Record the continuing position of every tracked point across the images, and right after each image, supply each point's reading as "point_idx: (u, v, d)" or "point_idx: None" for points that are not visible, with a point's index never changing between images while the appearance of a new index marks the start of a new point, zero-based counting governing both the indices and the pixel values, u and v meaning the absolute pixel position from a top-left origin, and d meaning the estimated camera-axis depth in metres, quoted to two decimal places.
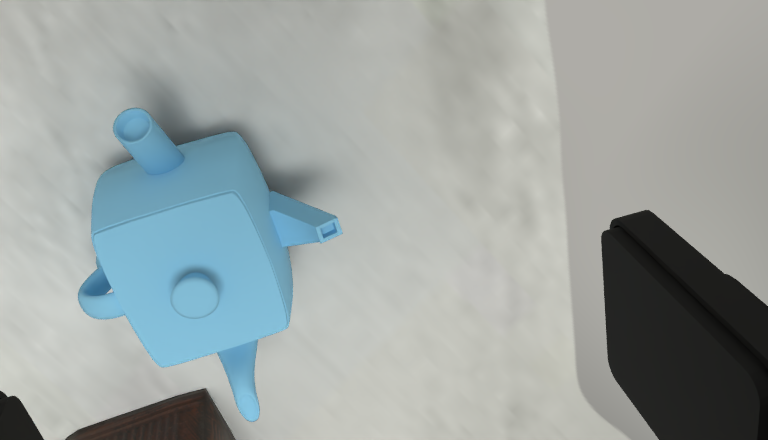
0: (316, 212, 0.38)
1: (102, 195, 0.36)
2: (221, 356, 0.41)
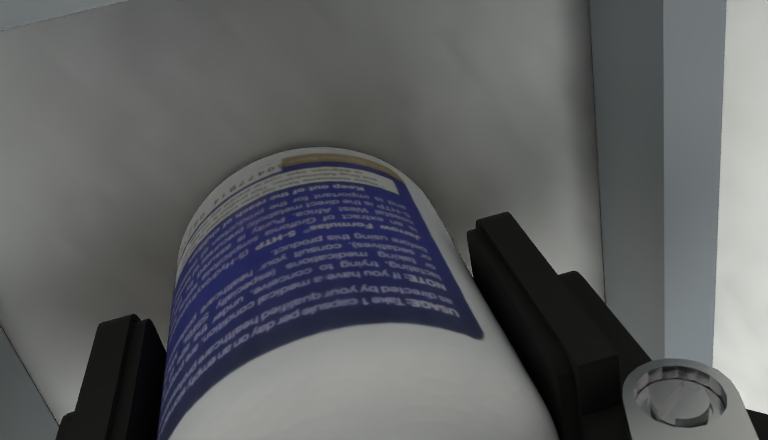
0: None
1: None
2: None
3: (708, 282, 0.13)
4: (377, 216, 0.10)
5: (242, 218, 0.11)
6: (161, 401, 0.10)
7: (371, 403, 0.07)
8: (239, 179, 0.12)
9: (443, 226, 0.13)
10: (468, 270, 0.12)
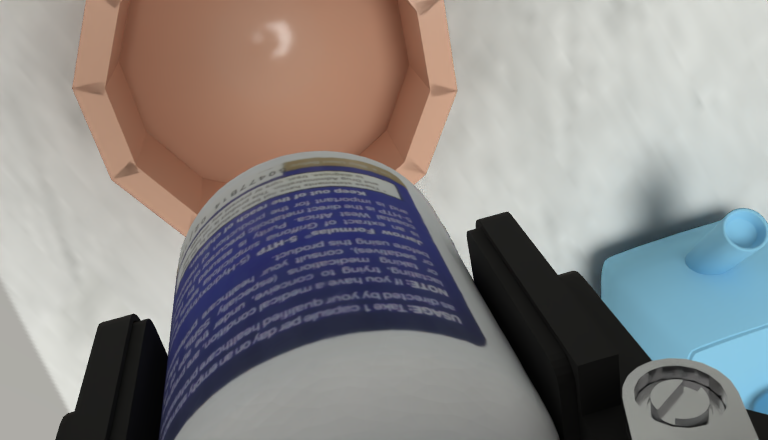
0: None
1: (657, 298, 0.32)
2: None
3: None
4: (379, 222, 0.10)
5: (244, 222, 0.11)
6: (162, 407, 0.10)
7: (374, 411, 0.07)
8: (239, 183, 0.12)
9: (445, 230, 0.13)
10: (470, 275, 0.12)
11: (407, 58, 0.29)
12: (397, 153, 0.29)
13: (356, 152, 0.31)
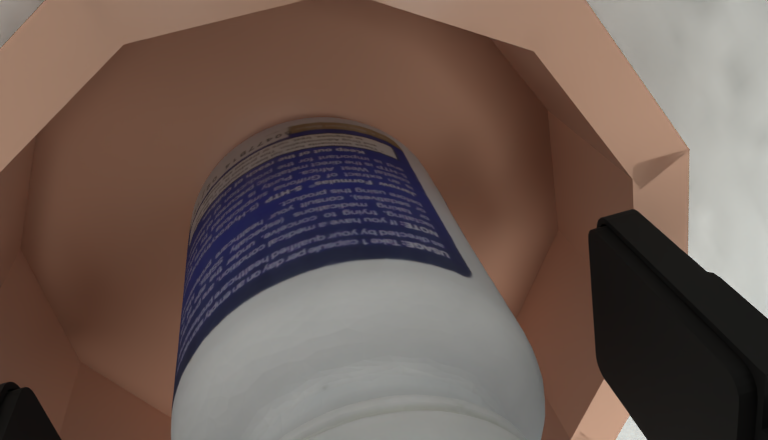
0: None
1: None
2: None
3: None
4: (376, 175, 0.11)
5: (252, 177, 0.12)
6: (179, 339, 0.11)
7: (370, 325, 0.08)
8: (248, 146, 0.13)
9: (438, 191, 0.14)
10: (460, 229, 0.13)
11: (556, 219, 0.16)
12: (547, 405, 0.15)
13: None
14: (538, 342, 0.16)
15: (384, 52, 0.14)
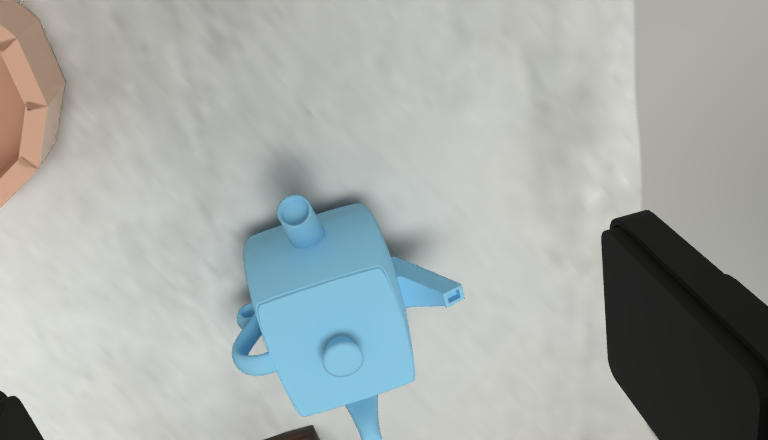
0: (440, 279, 0.42)
1: (256, 266, 0.41)
2: (347, 403, 0.45)
3: None
4: None
5: None
6: None
7: None
8: None
9: None
10: None
11: None
12: None
13: (13, 152, 0.40)
14: None
15: None
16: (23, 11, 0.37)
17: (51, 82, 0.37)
